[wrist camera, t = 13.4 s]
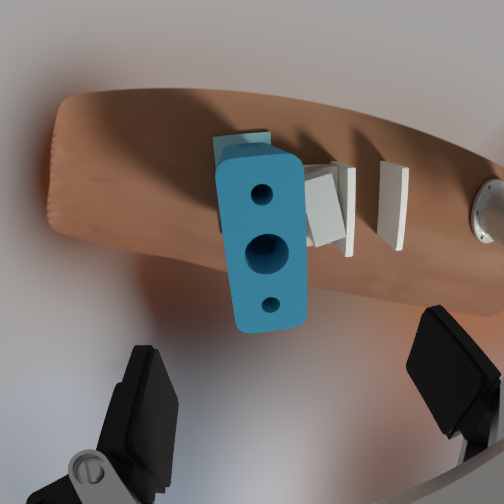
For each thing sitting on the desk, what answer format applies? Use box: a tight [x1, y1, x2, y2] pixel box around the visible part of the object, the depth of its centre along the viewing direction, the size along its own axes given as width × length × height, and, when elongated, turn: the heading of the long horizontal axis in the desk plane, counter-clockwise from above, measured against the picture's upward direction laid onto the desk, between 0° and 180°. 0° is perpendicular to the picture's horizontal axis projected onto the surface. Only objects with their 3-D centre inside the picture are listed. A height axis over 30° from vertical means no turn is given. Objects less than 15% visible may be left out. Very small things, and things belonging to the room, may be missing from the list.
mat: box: [212, 132, 271, 170], centre depth 36 cm, size 7×13×1 cm, turn 5°
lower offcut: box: [303, 163, 338, 246], centre depth 37 cm, size 4×10×4 cm, turn 5°
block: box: [215, 142, 307, 333], centre depth 27 cm, size 12×5×20 cm, turn 5°
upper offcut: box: [304, 169, 346, 247], centre depth 34 cm, size 4×8×3 cm, turn 19°
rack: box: [330, 161, 409, 257], centre depth 36 cm, size 16×11×6 cm
